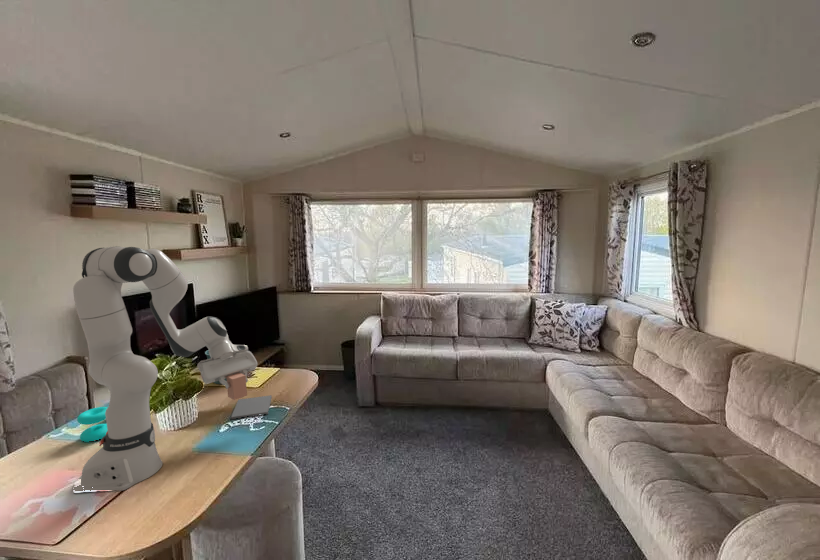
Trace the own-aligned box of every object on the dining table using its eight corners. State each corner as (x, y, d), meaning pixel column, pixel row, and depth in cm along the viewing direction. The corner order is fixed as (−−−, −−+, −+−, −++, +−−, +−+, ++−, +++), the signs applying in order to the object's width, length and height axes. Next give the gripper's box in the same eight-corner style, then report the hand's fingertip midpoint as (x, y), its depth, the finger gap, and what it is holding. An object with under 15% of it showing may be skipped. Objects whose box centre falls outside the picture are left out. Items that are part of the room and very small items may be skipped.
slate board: (231, 419, 156) (231, 417, 156) (238, 401, 172) (238, 399, 172) (267, 414, 159) (267, 411, 159) (271, 397, 176) (271, 395, 175)
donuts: (75, 420, 137) (78, 410, 145) (79, 447, 139) (81, 435, 147) (110, 412, 143) (111, 403, 151) (114, 437, 145) (114, 427, 153)
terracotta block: (234, 399, 143) (232, 379, 143) (228, 396, 147) (226, 376, 146) (247, 395, 147) (245, 375, 146) (240, 392, 150) (239, 372, 150)
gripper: (197, 357, 142) (211, 389, 136) (250, 344, 157) (264, 372, 152) (193, 366, 145) (206, 398, 140) (246, 353, 160) (259, 380, 155)
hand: (237, 384), depth 146 cm, fingers closed on terracotta block, 5 cm apart
